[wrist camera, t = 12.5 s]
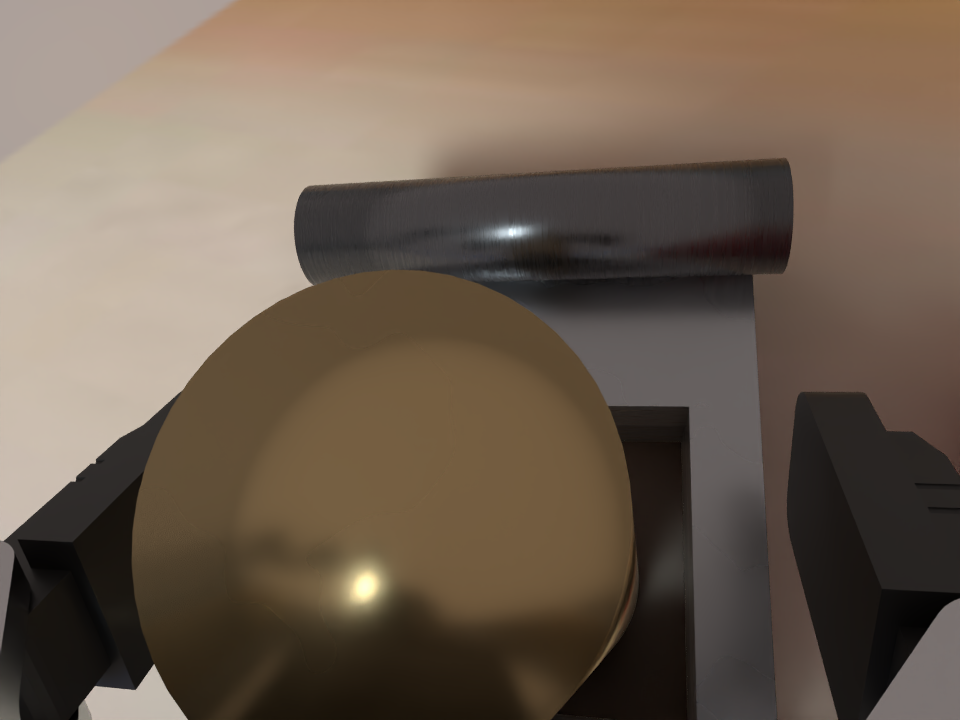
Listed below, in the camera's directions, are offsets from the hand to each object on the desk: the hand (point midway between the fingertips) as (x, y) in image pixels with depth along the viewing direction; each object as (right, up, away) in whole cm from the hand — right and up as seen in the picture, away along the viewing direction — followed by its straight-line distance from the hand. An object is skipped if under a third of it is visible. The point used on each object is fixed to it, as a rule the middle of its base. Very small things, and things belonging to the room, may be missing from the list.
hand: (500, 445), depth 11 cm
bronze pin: (+1, -3, +5) cm, 6 cm away
